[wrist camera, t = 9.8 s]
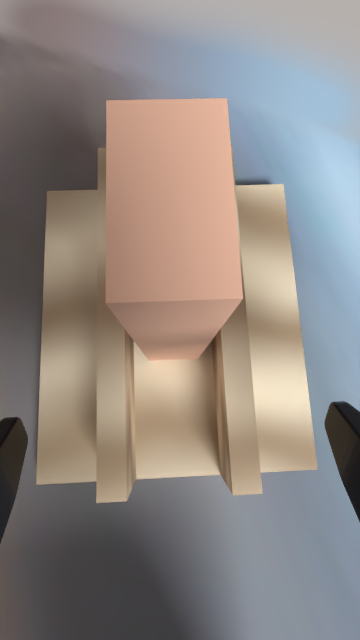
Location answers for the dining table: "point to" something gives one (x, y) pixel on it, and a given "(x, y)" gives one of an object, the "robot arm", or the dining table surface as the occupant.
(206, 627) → the dining table surface
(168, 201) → the pink rectangular block
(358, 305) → the dining table surface
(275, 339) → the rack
